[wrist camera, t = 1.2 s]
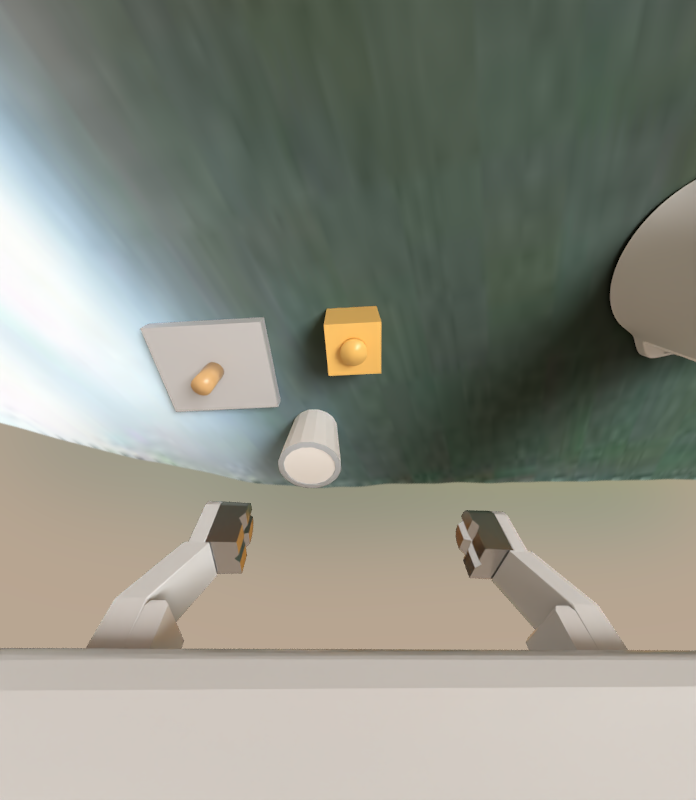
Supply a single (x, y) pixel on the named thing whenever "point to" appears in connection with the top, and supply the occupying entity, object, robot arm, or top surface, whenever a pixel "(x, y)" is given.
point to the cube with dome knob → (353, 340)
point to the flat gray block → (214, 363)
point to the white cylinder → (311, 450)
